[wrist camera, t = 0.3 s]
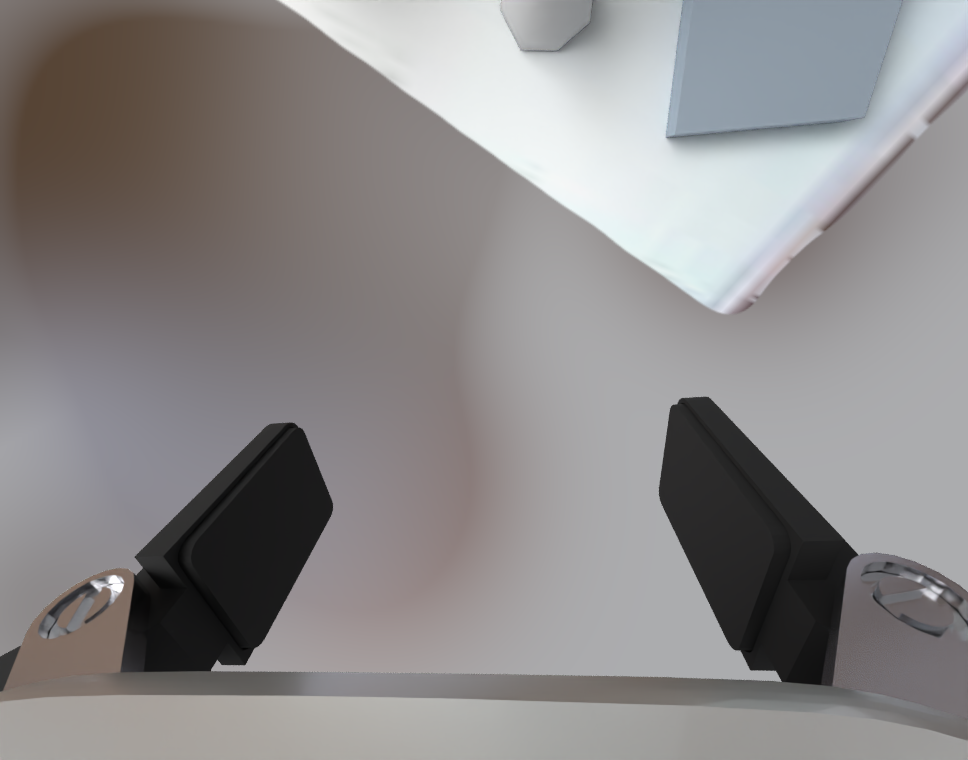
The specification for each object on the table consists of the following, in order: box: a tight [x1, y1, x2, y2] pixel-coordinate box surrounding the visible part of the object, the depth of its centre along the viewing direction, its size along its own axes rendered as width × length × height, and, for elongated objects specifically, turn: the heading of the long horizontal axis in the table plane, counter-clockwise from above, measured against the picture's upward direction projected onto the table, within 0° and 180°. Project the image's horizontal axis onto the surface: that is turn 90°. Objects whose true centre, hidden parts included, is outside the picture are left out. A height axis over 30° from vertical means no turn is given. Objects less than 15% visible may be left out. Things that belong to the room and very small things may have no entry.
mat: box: [666, 0, 903, 138], centre depth 28 cm, size 11×14×2 cm
